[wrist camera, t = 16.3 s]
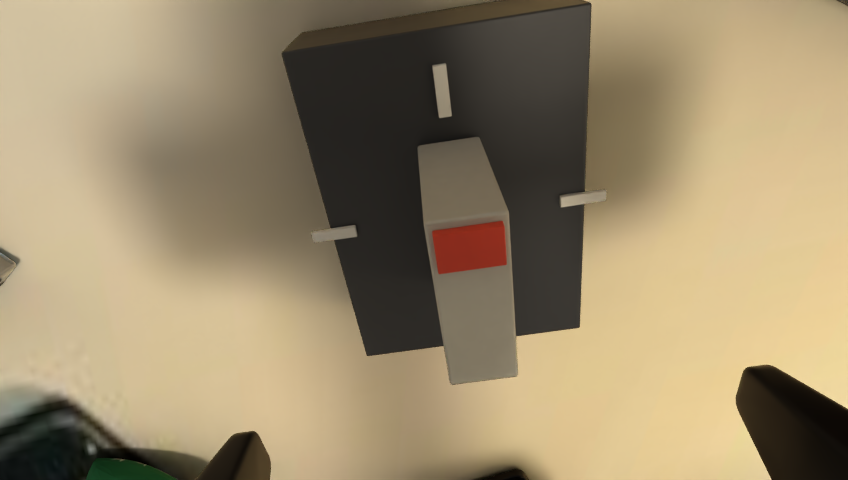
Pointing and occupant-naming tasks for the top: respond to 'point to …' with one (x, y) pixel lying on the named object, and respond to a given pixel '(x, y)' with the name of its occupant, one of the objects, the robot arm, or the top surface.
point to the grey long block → (469, 260)
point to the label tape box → (5, 267)
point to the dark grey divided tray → (844, 1)
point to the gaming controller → (124, 470)
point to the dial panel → (445, 121)
